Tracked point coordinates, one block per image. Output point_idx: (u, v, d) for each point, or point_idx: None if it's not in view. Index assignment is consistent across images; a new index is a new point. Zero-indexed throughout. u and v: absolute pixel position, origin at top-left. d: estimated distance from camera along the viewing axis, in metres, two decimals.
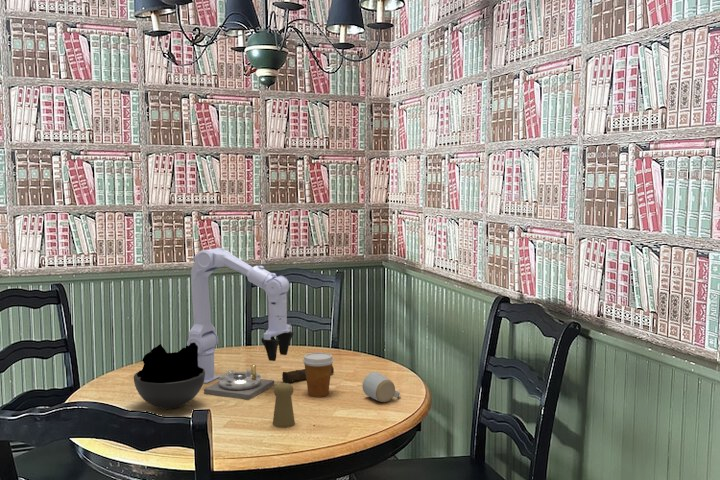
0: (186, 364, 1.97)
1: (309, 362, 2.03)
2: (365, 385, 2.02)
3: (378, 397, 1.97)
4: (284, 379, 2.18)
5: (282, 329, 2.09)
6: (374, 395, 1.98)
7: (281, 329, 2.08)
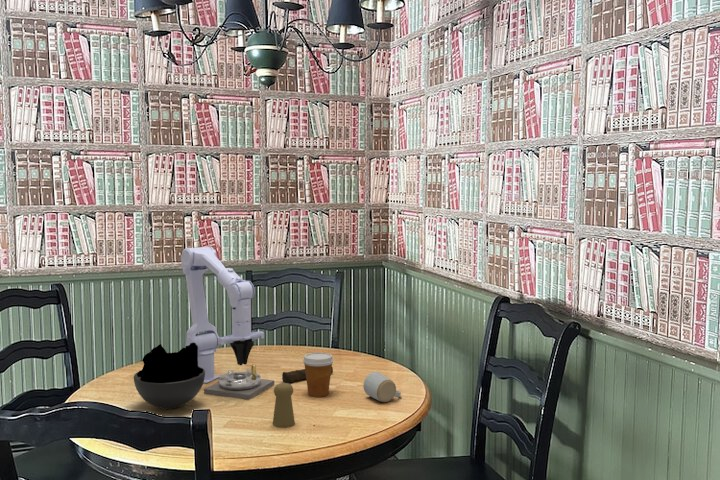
0: (186, 364, 1.97)
1: (309, 362, 2.03)
2: (366, 385, 2.02)
3: (379, 397, 1.98)
4: (284, 379, 2.18)
5: (241, 335, 2.03)
6: (375, 395, 1.98)
7: (240, 335, 2.03)
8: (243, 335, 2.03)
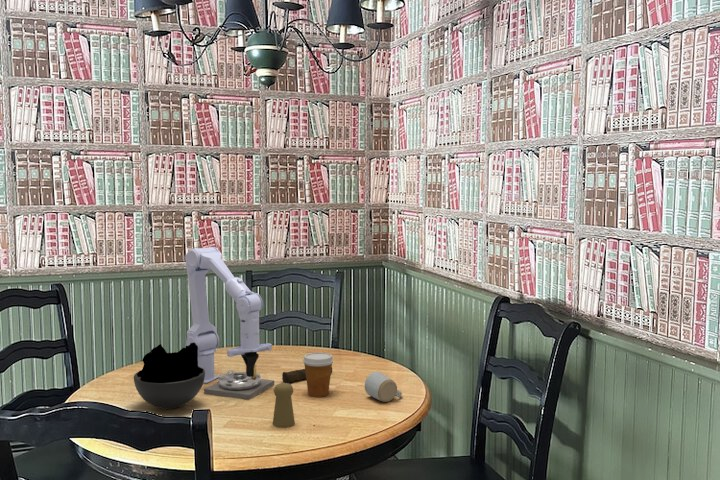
0: (186, 364, 1.97)
1: (309, 362, 2.03)
2: (367, 385, 2.02)
3: (380, 397, 1.98)
4: (284, 379, 2.18)
5: (249, 348, 2.05)
6: (376, 395, 1.98)
7: (248, 348, 2.05)
8: (251, 347, 2.05)
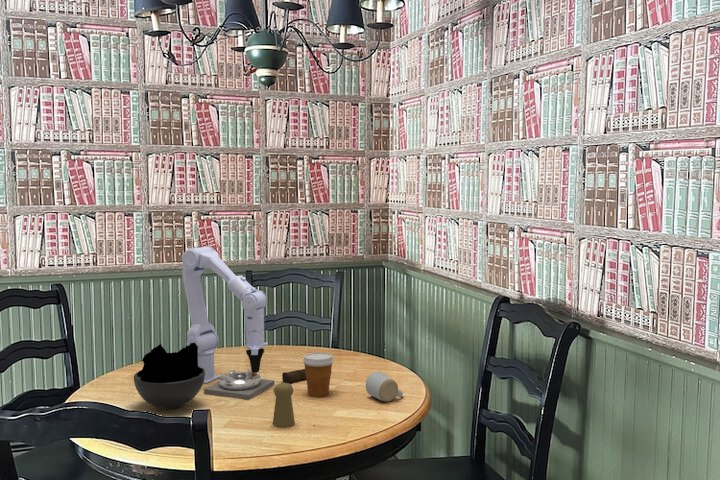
0: (186, 364, 1.97)
1: (309, 362, 2.03)
2: (368, 384, 2.02)
3: (381, 396, 1.98)
4: (284, 379, 2.18)
5: (262, 343, 2.11)
6: (377, 394, 1.99)
7: (262, 343, 2.11)
8: (263, 342, 2.12)
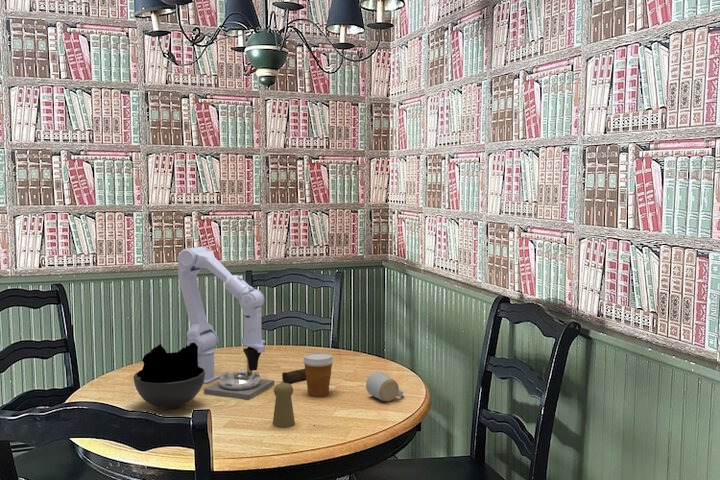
0: (186, 364, 1.97)
1: (309, 362, 2.03)
2: (369, 384, 2.02)
3: (382, 396, 1.98)
4: (284, 379, 2.18)
5: (261, 340, 2.14)
6: (378, 394, 1.99)
7: (261, 340, 2.14)
8: (261, 340, 2.15)
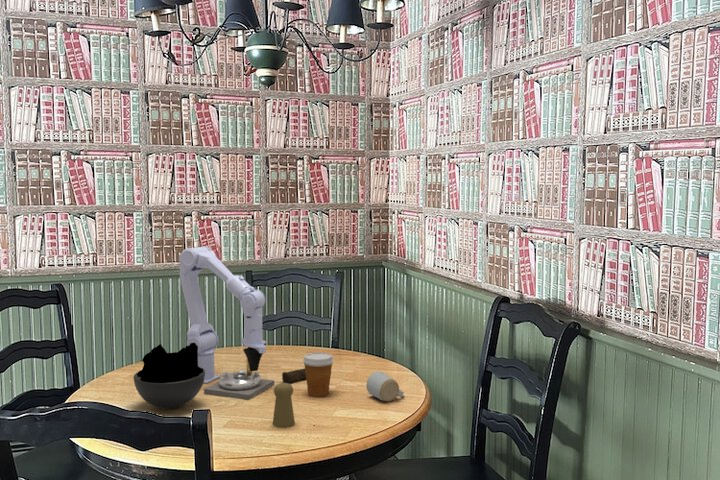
0: (186, 364, 1.97)
1: (309, 362, 2.03)
2: (369, 384, 2.02)
3: (382, 396, 1.98)
4: (285, 379, 2.18)
5: (262, 341, 2.13)
6: (378, 394, 1.99)
7: (262, 341, 2.13)
8: None
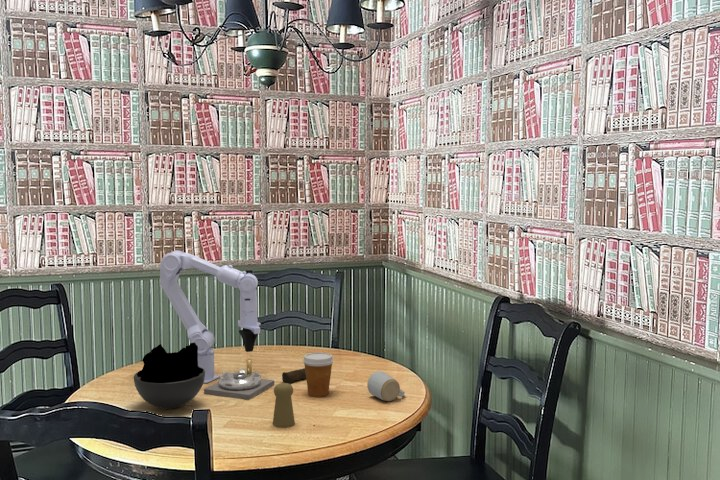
0: (186, 364, 1.97)
1: (309, 362, 2.03)
2: (370, 384, 2.03)
3: (383, 396, 1.98)
4: (285, 379, 2.18)
5: (257, 322, 2.22)
6: (379, 394, 1.99)
7: (257, 323, 2.21)
8: (257, 322, 2.22)
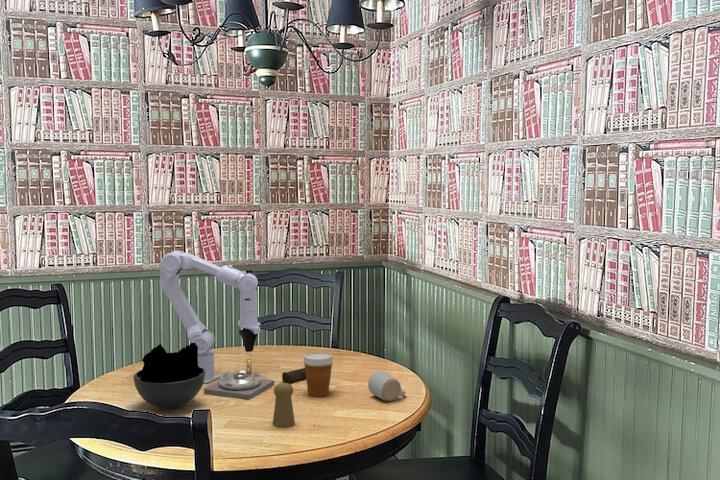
0: (186, 364, 1.97)
1: (309, 362, 2.03)
2: (371, 384, 2.03)
3: (384, 396, 1.98)
4: (285, 379, 2.18)
5: (257, 322, 2.22)
6: (380, 394, 1.99)
7: (257, 323, 2.21)
8: (257, 322, 2.22)
